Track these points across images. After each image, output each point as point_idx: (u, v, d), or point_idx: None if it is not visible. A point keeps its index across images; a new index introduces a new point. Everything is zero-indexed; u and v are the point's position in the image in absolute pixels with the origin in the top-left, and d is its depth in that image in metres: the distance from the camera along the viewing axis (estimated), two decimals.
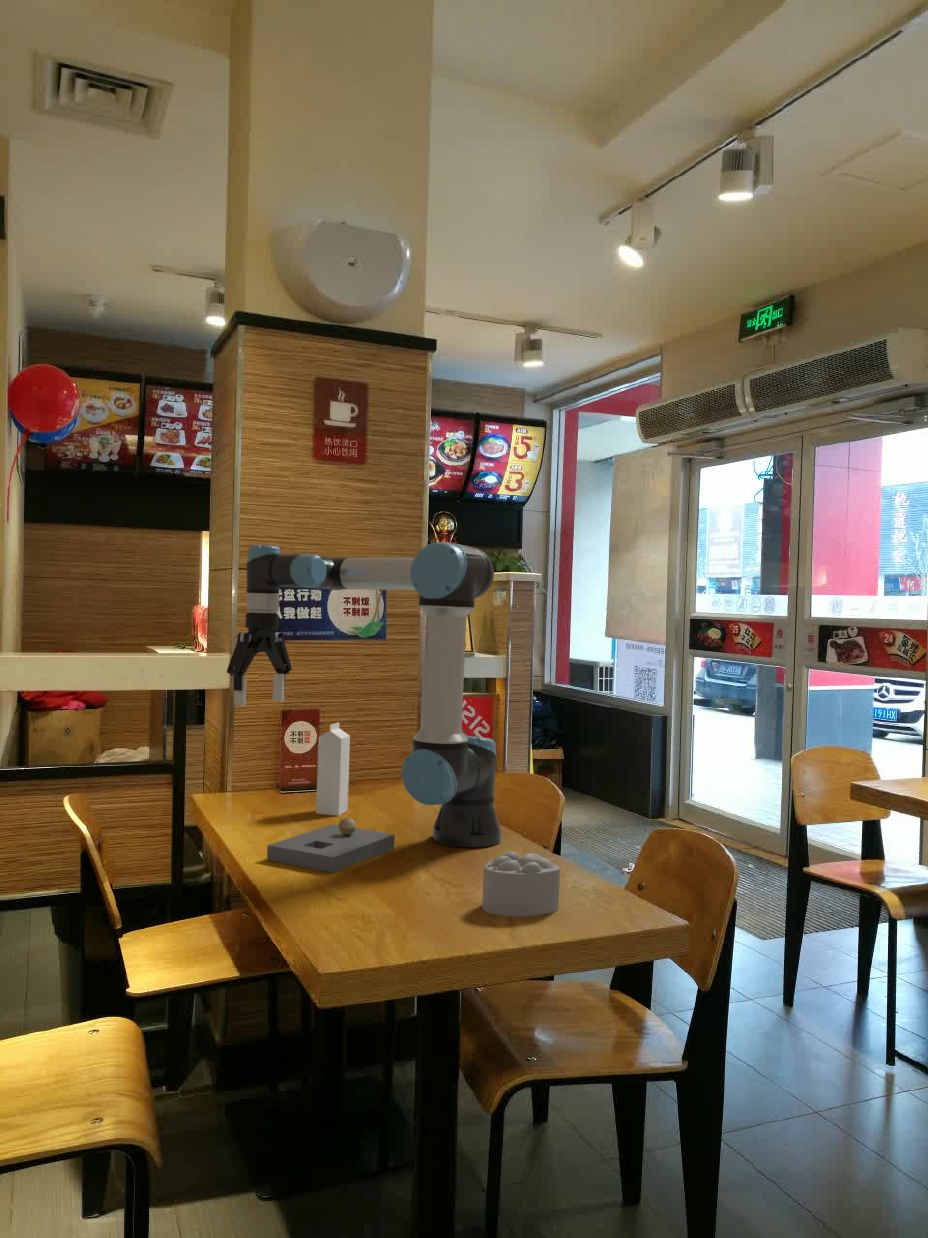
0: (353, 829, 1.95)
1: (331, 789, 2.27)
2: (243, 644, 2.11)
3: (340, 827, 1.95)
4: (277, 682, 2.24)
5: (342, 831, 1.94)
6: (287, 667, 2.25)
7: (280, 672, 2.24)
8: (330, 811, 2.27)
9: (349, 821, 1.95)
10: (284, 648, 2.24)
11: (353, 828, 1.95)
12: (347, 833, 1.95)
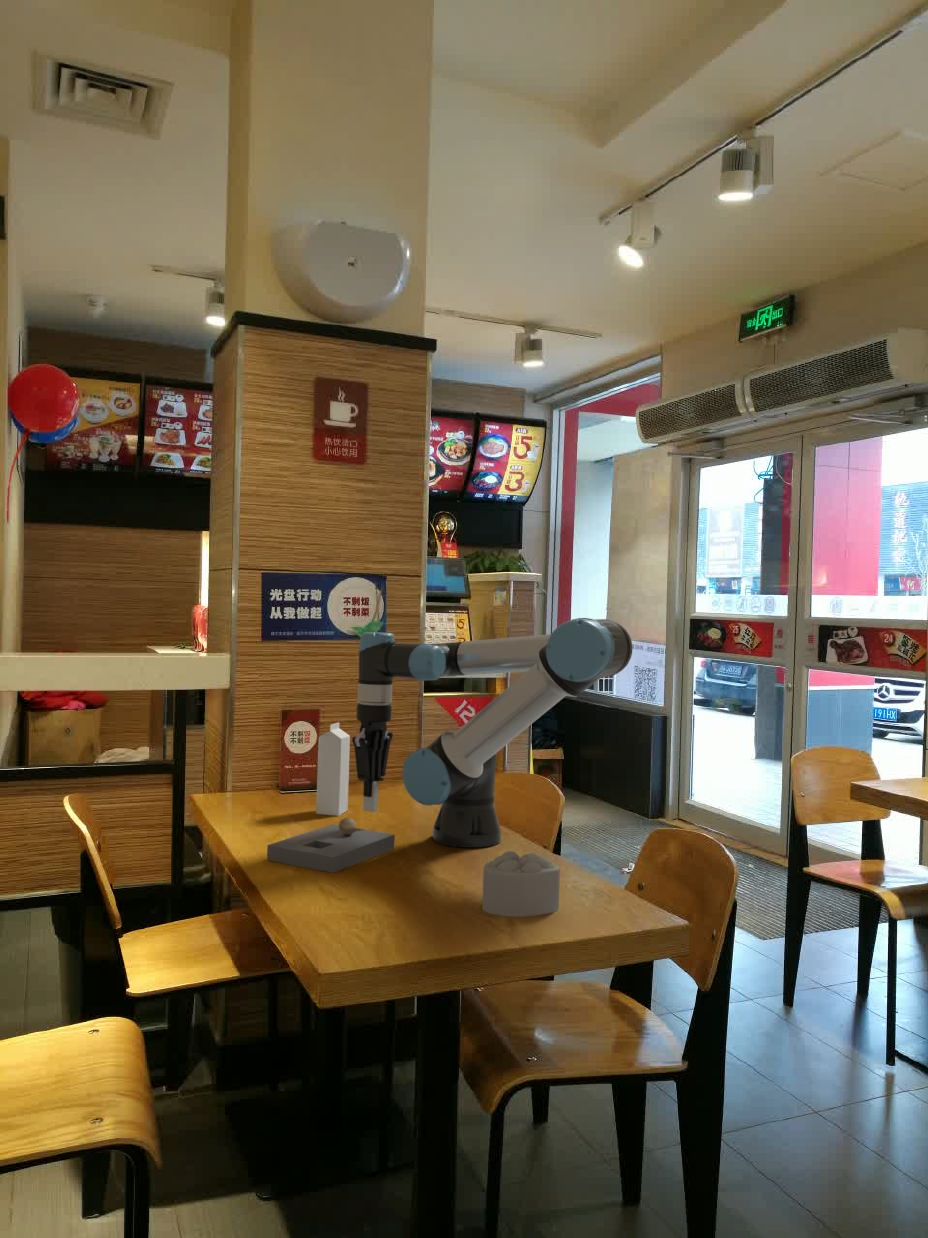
0: (353, 829, 1.95)
1: (331, 789, 2.27)
2: (362, 750, 1.99)
3: (340, 827, 1.95)
4: None
5: (342, 831, 1.94)
6: (381, 771, 2.06)
7: (373, 777, 2.04)
8: (330, 811, 2.27)
9: (349, 821, 1.95)
10: (387, 749, 2.07)
11: (353, 828, 1.95)
12: (347, 833, 1.95)
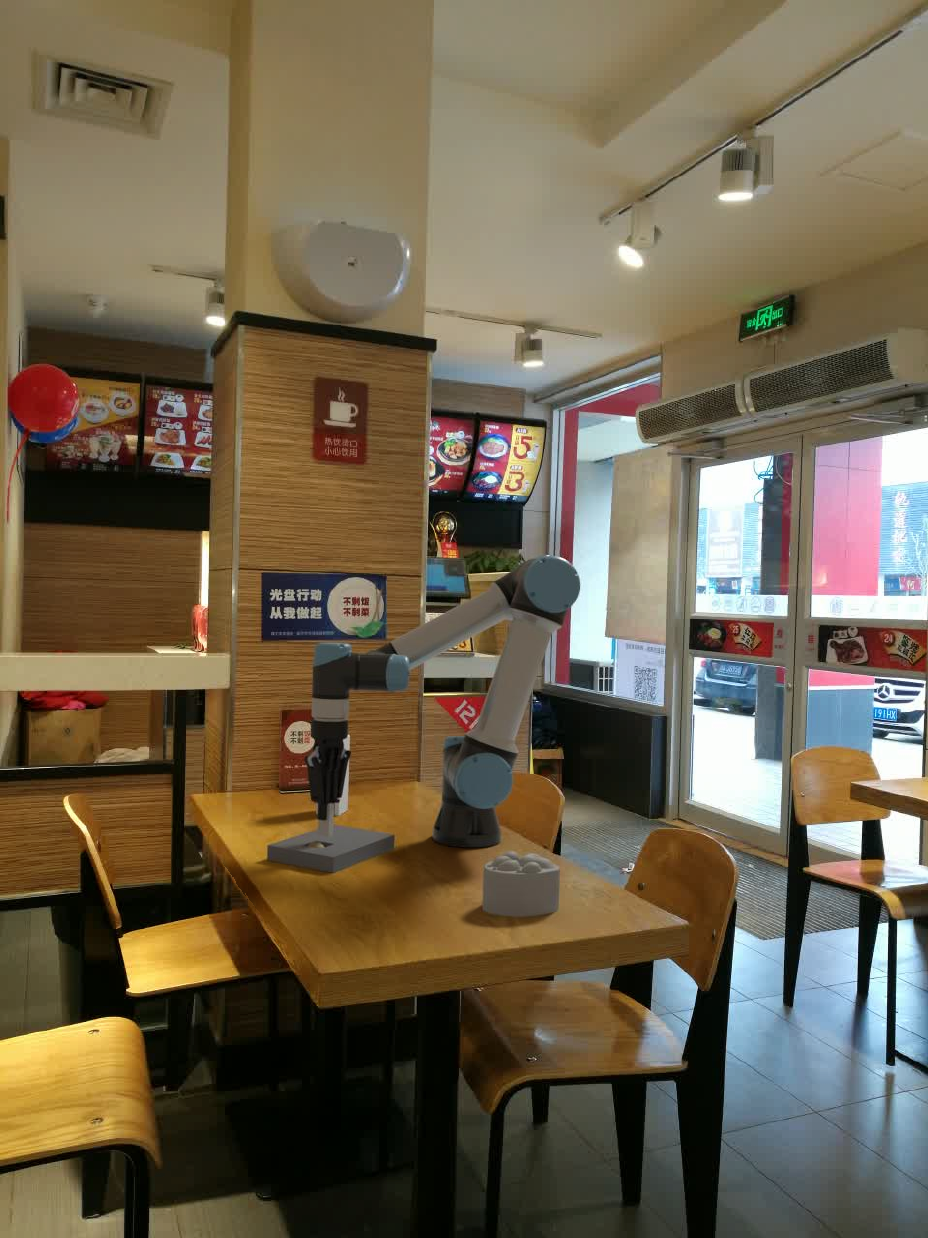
0: None
1: None
2: (315, 770, 1.84)
3: None
4: None
5: None
6: (338, 792, 1.91)
7: None
8: None
9: None
10: (345, 768, 1.93)
11: None
12: None
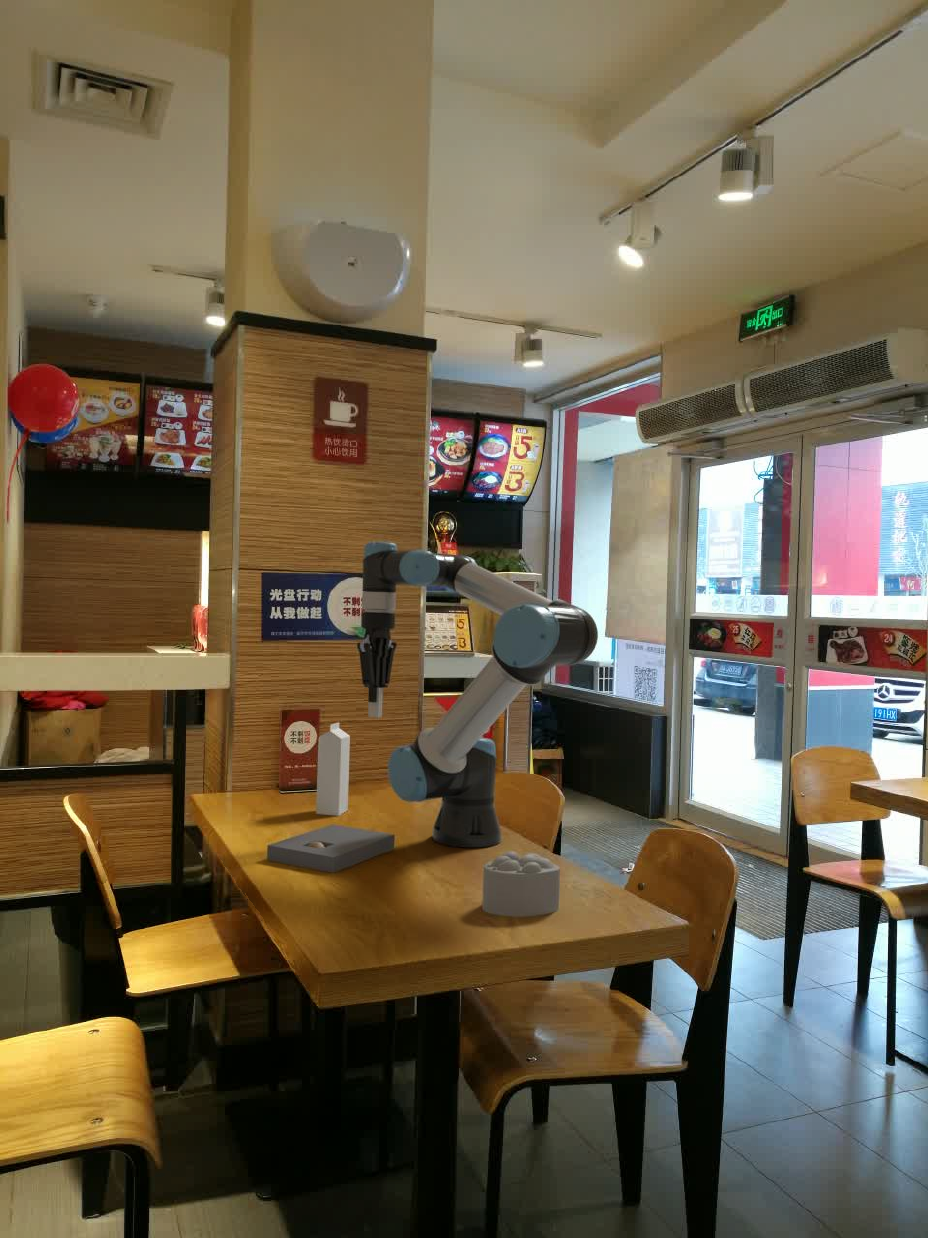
0: None
1: (331, 789, 2.27)
2: (367, 655, 2.04)
3: None
4: None
5: None
6: (386, 678, 2.11)
7: None
8: (330, 811, 2.27)
9: None
10: (391, 658, 2.13)
11: None
12: None
